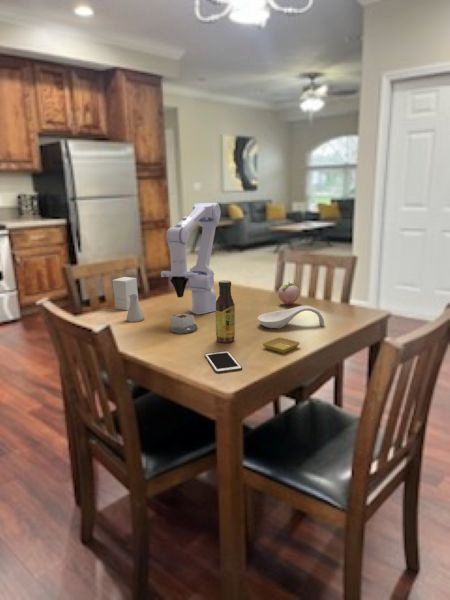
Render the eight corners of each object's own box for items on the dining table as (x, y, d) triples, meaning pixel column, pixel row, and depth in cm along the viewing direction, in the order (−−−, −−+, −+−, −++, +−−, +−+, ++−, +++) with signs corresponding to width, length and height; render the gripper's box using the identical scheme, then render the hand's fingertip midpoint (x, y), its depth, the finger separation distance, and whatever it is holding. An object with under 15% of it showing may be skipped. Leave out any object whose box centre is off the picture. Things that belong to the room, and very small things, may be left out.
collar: (182, 323, 166) (181, 313, 165) (193, 326, 163) (193, 315, 162) (171, 327, 162) (171, 317, 161) (183, 330, 158) (183, 319, 157)
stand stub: (175, 318, 176) (175, 314, 176) (177, 319, 175) (177, 315, 175) (172, 319, 175) (172, 315, 175) (174, 320, 174) (174, 316, 174)
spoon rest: (259, 332, 158) (258, 312, 157) (256, 322, 170) (256, 303, 168) (326, 330, 159) (327, 310, 157) (319, 320, 170) (320, 301, 168)
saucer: (261, 349, 142) (261, 343, 142) (279, 342, 148) (279, 336, 148) (283, 356, 136) (283, 349, 136) (300, 348, 142) (300, 342, 142)
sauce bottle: (228, 344, 146) (227, 284, 141) (212, 341, 149) (210, 282, 145) (239, 338, 152) (237, 280, 147) (223, 335, 155) (221, 278, 150)
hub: (188, 323, 170) (187, 312, 168) (202, 330, 162) (202, 317, 160) (164, 329, 164) (163, 317, 163) (178, 335, 156) (177, 323, 155)
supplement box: (139, 306, 195) (137, 277, 192) (127, 310, 189) (124, 281, 186) (126, 304, 199) (124, 276, 196) (114, 308, 193) (111, 279, 190)
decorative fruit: (284, 301, 197) (284, 278, 195) (302, 303, 193) (302, 280, 190) (274, 306, 190) (274, 282, 188) (291, 309, 185) (291, 285, 183)
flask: (140, 322, 172) (138, 297, 170) (122, 322, 174) (120, 296, 171) (147, 317, 179) (145, 292, 177) (130, 316, 181) (128, 292, 178)
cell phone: (216, 375, 124) (216, 371, 124) (203, 356, 138) (203, 353, 138) (243, 371, 126) (243, 368, 126) (228, 353, 140) (228, 350, 140)
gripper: (155, 261, 165) (157, 297, 168) (190, 263, 159) (192, 300, 162) (165, 258, 171) (167, 293, 174) (200, 260, 165) (201, 296, 169)
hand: (180, 296), depth 169 cm, fingers closed
